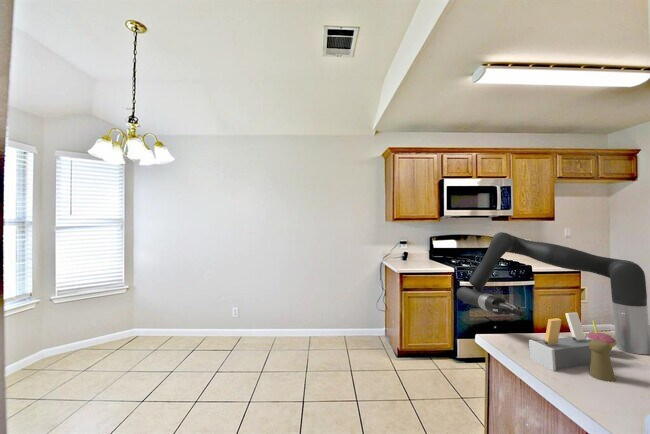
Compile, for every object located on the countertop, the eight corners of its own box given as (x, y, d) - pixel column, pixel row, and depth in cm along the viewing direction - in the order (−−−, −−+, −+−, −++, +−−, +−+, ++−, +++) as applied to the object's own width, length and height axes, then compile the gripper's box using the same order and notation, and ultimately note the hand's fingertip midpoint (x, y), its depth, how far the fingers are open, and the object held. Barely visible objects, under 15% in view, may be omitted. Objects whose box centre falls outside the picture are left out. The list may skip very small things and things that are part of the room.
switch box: (579, 353, 110) (577, 334, 110) (606, 363, 101) (604, 343, 101) (530, 359, 106) (528, 340, 107) (553, 371, 97) (551, 349, 98)
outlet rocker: (554, 341, 104) (558, 318, 102) (557, 343, 103) (561, 319, 101) (543, 343, 103) (547, 319, 101) (547, 345, 102) (550, 321, 100)
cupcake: (580, 350, 112) (578, 318, 113) (595, 346, 115) (592, 315, 115) (608, 359, 104) (605, 324, 105) (623, 355, 107) (620, 321, 107)
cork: (621, 382, 89) (617, 345, 90) (598, 381, 90) (594, 344, 91) (606, 372, 95) (603, 338, 96) (584, 371, 96) (582, 337, 97)
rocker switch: (583, 339, 106) (574, 312, 108) (586, 339, 105) (577, 312, 107) (573, 340, 105) (564, 313, 108) (576, 340, 104) (567, 313, 107)
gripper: (477, 296, 130) (507, 306, 113) (504, 293, 132) (537, 303, 115) (478, 313, 130) (509, 325, 113) (505, 310, 132) (539, 322, 115)
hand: (523, 314), depth 114 cm, fingers closed
